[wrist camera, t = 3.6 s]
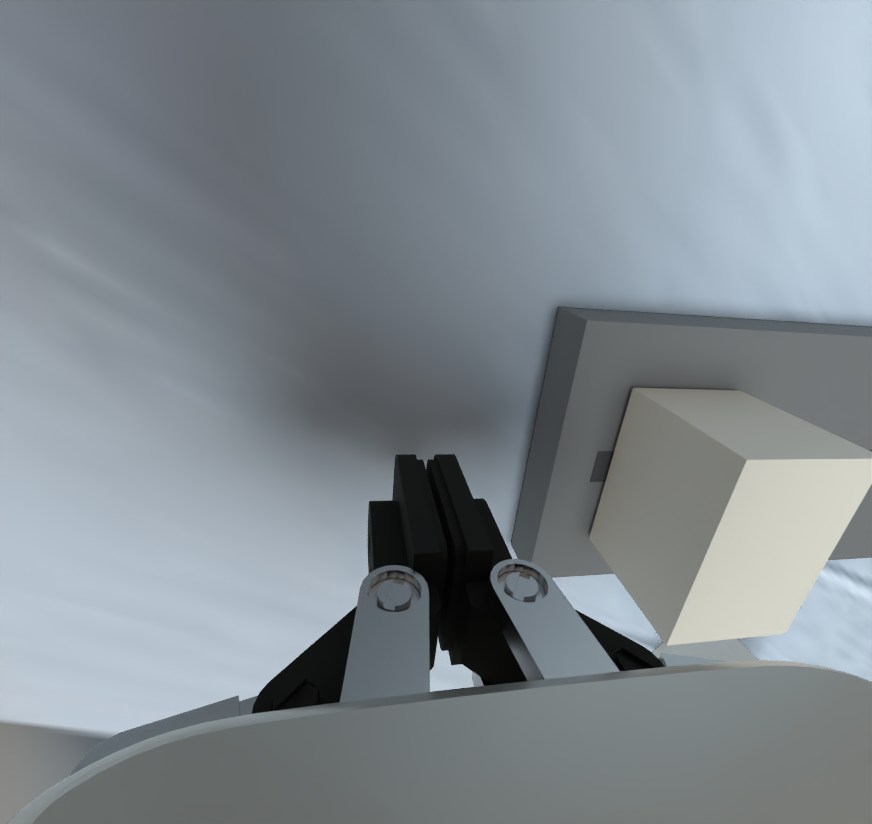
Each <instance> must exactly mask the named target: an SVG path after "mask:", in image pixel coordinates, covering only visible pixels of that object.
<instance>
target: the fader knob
mask: <svg viewBox="0 0 872 824" xmlns="http://www.w3.org/2000/svg"><path fill="white" fill-rule="evenodd" d="M871 484H872V452H871V451H869V450H867V449H865V448H863V447H860V446H858V445H856V444H854V443H852V442H850V441H848V440H845V439H843V438H841V437H839V436H837V435H835V434H832V433H830V432H828V431H826V430H824V429H822V428H820V427H817V426H815V425H813V424H811V423H809V422H807V421H804V420H802V419H800V418H798V417H796V416H794V415H792V414H789V413H787V412H785V411H783V410H781V409H779V408H777V407H774V406H772V405H770V404H768V403H766V402H764V401H761V400H759V399H757V398H755V397H753V396H751V395H749V394H746V393H744V392H742V391H740V390H704V389H667V388H633V389H632V392H631V395H630V399H629V402H628V406H627V409H626V413H625V416H624V420H623V423H622V426H621V430H620V433H619V437H618V440H617V444H616V447H615V451H614V454H613V458H612V461H611V464H610V468H609V471H608V475H607V478H606V482H605V485H604V489H603V492H602V495H601V499H600V502H599V506H598V509H597V513H596V516H595V520H594V523H593V526H592V530H591V533H590V537H589V539H590V540H591V541H592V543H593V544H594V546H595V547H596V548H597V550H598V551H599V553H600V554H601V555H602V557H603V558H604V560H605V561H606V562H607V564H608V565H609V567H610V568H611V569H612V571H613V572H614V573H615V575H616V576H617V578H618V579H619V580H620V582H621V583H622V585H623V586H624V587H625V589H626V590H627V592H628V593H629V594H630V596H631V597H632V598H633V600H634V601H635V603H636V604H637V605H638V607H639V608H640V610H641V611H642V612H643V614H644V615H645V617H646V618H647V619H648V621H649V622H650V623H651V625H652V626H653V628H654V629H655V630H656V632H657V633H658V635H659V636H660V637H661V639H662V640H663V642H664V643H665V644H666V646H668V645H678V644H688V643H698V642H708V641H718V640H728V639H738V638H748V637H758V636H768V635H778V634H785V633H786V631H787V629H788V628H789V626H790V624H791V622H792V621H793V619H794V617H795V616H796V614H797V612H798V610H799V609H800V607H801V605H802V603H803V602H804V600H805V598H806V597H807V595H808V593H809V591H810V590H811V588H812V586H813V584H814V583H815V581H816V579H817V578H818V576H819V574H820V572H821V571H822V569H823V567H824V565H825V564H826V562H827V560H828V559H829V557H830V555H831V553H832V552H833V550H834V548H835V547H836V545H837V543H838V541H839V540H840V538H841V536H842V534H843V533H844V531H845V529H846V528H847V526H848V524H849V522H850V521H851V519H852V517H853V515H854V514H855V512H856V510H857V509H858V507H859V505H860V503H861V502H862V500H863V498H864V496H865V495H866V493H867V491H868V490H869V488H870V486H871Z"/></svg>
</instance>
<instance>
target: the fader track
mask: <svg viewBox="0 0 872 824" xmlns="http://www.w3.org/2000/svg"><path fill="white" fill-rule="evenodd" d="M633 388H667V389H704V390H740V391H742V392H744V393H746V394H749V395H751V396H753V397H755V398H757V399H759V400H761V401H764V402H766V403H768V404H770V405H772V406H774V407H777V408H779V409H781V410H783V411H785V412H787V413H789V414H792V415H794V416H796V417H798V418H800V419H802V420H804V421H807V422H809V423H811V424H813V425H815V426H817V427H820V428H822V429H824V430H826V431H828V432H830V433H832V434H835V435H837V436H839V437H841V438H843V439H845V440H848V441H850V442H852V443H854V444H856V445H858V446H860V447H863V448H865V449H867V450H869V451H871V452H872V327H864V326H848V325H833V324H817V323H802V322H786V321H770V320H755V319H739V318H724V317H708V316H692V315H677V314H661V313H645V312H630V311H614V310H599V309H583V308H567V307H559V308H558V313H557V318H556V323H555V328H554V332H553V337H552V342H551V347H550V352H549V357H548V362H547V367H546V372H545V377H544V382H543V387H542V392H541V397H540V402H539V407H538V412H537V417H536V422H535V427H534V432H533V437H532V442H531V447H530V452H529V456H528V461H527V466H526V471H525V476H524V481H523V486H522V491H521V496H520V501H519V506H518V511H517V516H516V521H515V526H514V531H513V536H512V541H511V545H512V547H513V549H514V551H515V553H516V555H517V558H518V559H520V560H525V561H529V562H531V563H534V564H536V565H537V566H539V567H541V568H542V569H544V570H545V571H546V572H547V573H548V574H549V576H550V577H551V578H553V577H568V576H584V575H600V574H615V573H614V572H613V571H612V569H611V568H610V567H609V565H608V564H607V562H606V561H605V560H604V558H603V557H602V555H601V554H600V553H599V551H598V550H597V548H596V547H595V546H594V544H593V543H592V541H591V540H590V539H589V537H590V533H591V530H592V526H593V523H594V520H595V516H596V513H597V509H598V506H599V502H600V499H601V495H602V492H603V489H604V485H605V482H606V478H607V475H608V471H609V468H610V464H611V461H612V458H613V454H614V451H615V447H616V444H617V440H618V437H619V433H620V430H621V426H622V423H623V420H624V416H625V413H626V409H627V406H628V402H629V399H630V395H631V392H632V389H633ZM871 557H872V484H871V486H870V488H869V490H868V491H867V493H866V495H865V496H864V498H863V500H862V502H861V503H860V505H859V507H858V509H857V510H856V512H855V514H854V515H853V517H852V519H851V521H850V522H849V524H848V526H847V528H846V529H845V531H844V533H843V534H842V536H841V538H840V540H839V541H838V543H837V545H836V547H835V548H834V550H833V552H832V553H831V555H830V557H829V559H828V560H839V559H855V558H871Z"/></svg>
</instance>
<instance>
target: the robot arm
mask: <svg viewBox="0 0 872 824" xmlns="http://www.w3.org/2000/svg"><path fill="white" fill-rule="evenodd" d="M368 566H369V574H368V575H367V576H366V578H365V579H364V580H363V582H362V585H361V587H360V592H359V597H358V603H357V606H356V607H355V608H354V609H353V610H352V611H350V612H349V613H348V614H347V615H346V616H345V617H343V618H342V619H341V620H340V621H339V622H338V623H337V624H335V625H334V626H333V627H332V628H331V629H330V630H329V631H327V632H326V633H325V634H324V635H323V636H322V637H320V638H319V639H318V640H317V641H316V642H315V643H314V644H312V645H311V646H310V647H309V648H308V649H307V650H305V651H304V652H303V653H302V654H301V655H300V656H299V657H297V658H296V659H295V660H294V661H293V662H292V663H291V664H289V665H288V666H287V667H286V668H285V669H284V670H282V671H281V672H280V673H279V674H278V675H277V676H276V677H274V678H273V679H272V680H271V681H270V682H269V683H268V684H267V685H266V686H265V687H264V688H263V690H262V691H261V692H260V693H259V695H258V696H255V697H252V698H249V699H246V700H243V701H240V702H239V695H238V696H235V697H232V698H229V699H226V700H222V701H219V702H216V703H213V704H210V705H207V706H203V707H200V708H197V709H194V710H191V711H188V712H184V713H181V714H178V715H175V716H172V717H168V718H165V719H162V720H159V721H156V722H153V723H149V724H146V725H143V726H140V727H137V728H134V729H130V730H127V731H124V732H121V733H119V734H117V735H114V736H112V737H110V738H108V739H106V740H104V741H102V742H101V743H100V744H98V745H97V746H96V747H95V748H93V749H92V750H91V751H89V752H88V753H87V754H86V755H85V756H84V757H83V758H82V760H81V761H80V762H79V763H78V765H77V766H76V767H75V768H74V769H73V771H72V772H71V775H70V776H69V777H67V778H66V779H64V780H62V781H61V782H59V783H58V784H56V785H55V786H53V787H52V788H50V789H48V790H47V791H45V792H44V793H43V794H41V795H40V796H38V797H37V798H36V799H34V800H33V801H32V802H30V803H29V804H28V805H27V806H25V807H24V808H23V809H22V810H21V811H19V812H18V813H17V814H16V815H15V816H14V817H13V818H12V819H11V820H10V821H9V822H8V823H7V824H872V682H871V681H868V680H866V679H863V678H860V677H857V676H854V675H852V674H849V673H845V672H841V671H837V670H834V669H830V668H826V667H822V666H818V665H811V664H804V663H797V662H789V661H768V660H758V661H722V660H714V659H707V658H699V657H691V656H683V655H676V654H668V653H661V654H660V656H659V658H657V657H656V656H655V655H654V654H653V653H652V652H650V651H649V650H647V649H646V648H644V647H643V646H641V645H639V644H638V643H636V642H634V641H632V640H630V639H628V638H627V637H625V636H623V635H621V634H619V633H617V632H615V631H614V630H612V629H610V628H608V627H606V626H604V625H603V624H601V623H599V622H597V621H595V620H593V619H591V618H590V617H588V616H586V615H584V614H582V613H580V612H579V611H577V610H575V609H574V608H573V607H572V605H571V604H570V602H569V601H568V600H567V598H566V597H565V596H564V594H563V593H562V592H561V590H560V589H559V587H558V586H557V585H556V583H555V582H554V581H553V579H552V578H551V577H550V576H549V574H548V573H547V572H546V571H545V570H544V569H542V568H541V567H539V566H537V565H536V564H534V563H531V562H529V561H525V560H520V559H512V557H511V555H510V553H509V550H508V548H507V546H506V544H505V542H504V540H503V537H502V535H501V533H500V531H499V529H498V526H497V524H496V522H495V520H494V518H493V515H492V513H491V511H490V509H489V507H488V504H487V502H486V501H485V500H484V499H473V497H472V495H471V492H470V490H469V487H468V485H467V483H466V480H465V478H464V475H463V473H462V471H461V468H460V466H459V463H458V461H457V459H456V456H455V455H454V454H448V455H435V456H434V460H428V461H427V469H425V465H424V462H423V460H417V458H416V455H396V457H395V468H394V484H393V500H392V501H369V514H368ZM437 638H439V643H440V648H441V650H442V651H443V650H448V651H449V656H450V660H451V665H457V664H463V665H464V666H466V667H467V668H469V669H470V670H472V671H473V672H472V680H473V684H474V687H470V688H461V689H452V690H443V691H434V692H430V670H431V669H432V668H433V666H434V660H435V653H436V645H437Z"/></svg>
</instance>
